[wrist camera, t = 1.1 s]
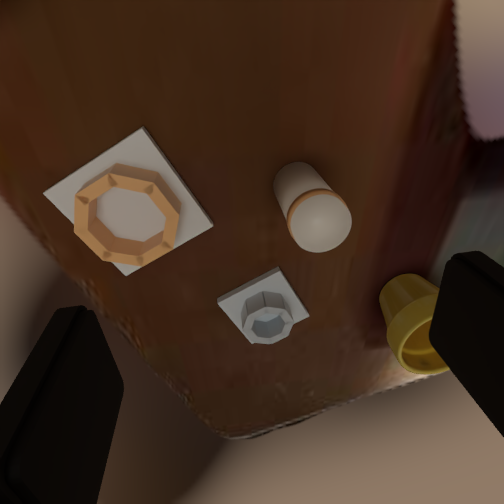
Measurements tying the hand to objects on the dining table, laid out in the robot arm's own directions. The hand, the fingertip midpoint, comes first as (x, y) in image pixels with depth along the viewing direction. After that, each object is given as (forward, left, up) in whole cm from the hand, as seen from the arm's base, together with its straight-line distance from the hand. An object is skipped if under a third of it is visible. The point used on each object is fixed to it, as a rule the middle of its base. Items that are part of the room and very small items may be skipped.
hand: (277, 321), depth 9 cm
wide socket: (+13, +2, -28) cm, 31 cm away
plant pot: (-9, +31, -28) cm, 43 cm away
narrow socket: (+8, +22, -28) cm, 36 cm away
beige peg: (-3, +9, -28) cm, 29 cm away
